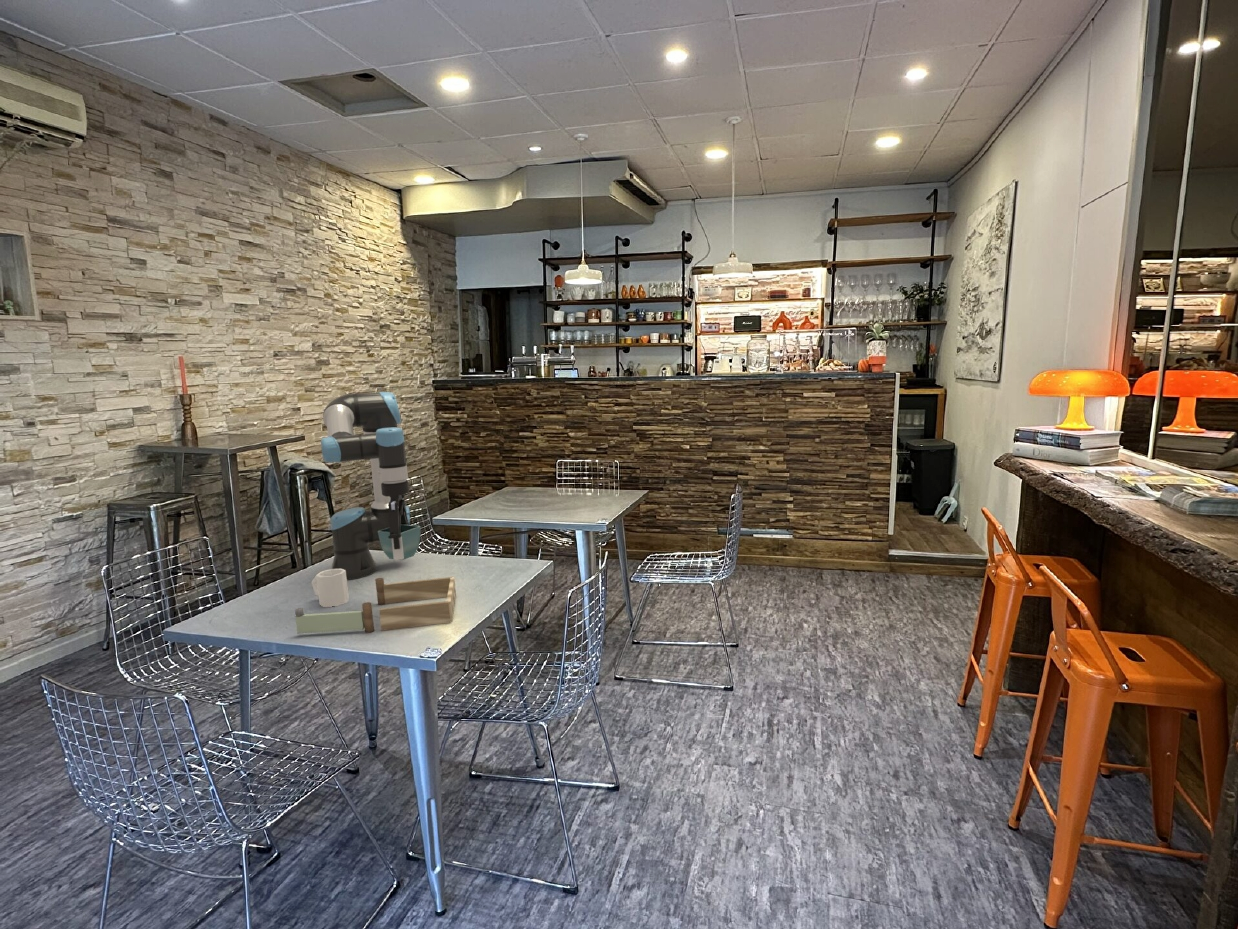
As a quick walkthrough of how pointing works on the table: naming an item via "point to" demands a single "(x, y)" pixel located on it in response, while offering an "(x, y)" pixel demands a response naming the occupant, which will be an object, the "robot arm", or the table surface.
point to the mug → (331, 587)
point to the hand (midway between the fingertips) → (401, 553)
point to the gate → (328, 621)
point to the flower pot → (409, 540)
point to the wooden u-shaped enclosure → (412, 613)
